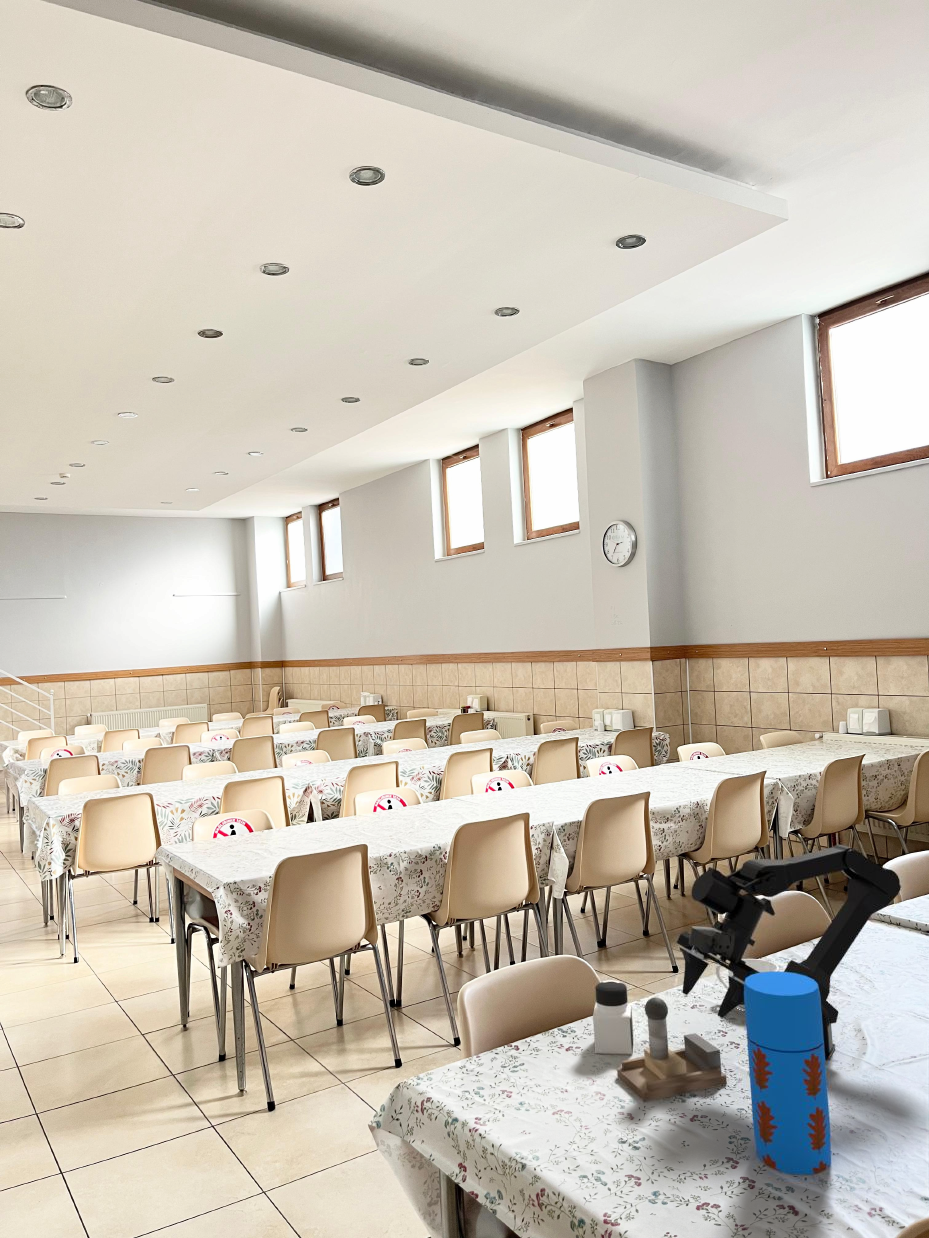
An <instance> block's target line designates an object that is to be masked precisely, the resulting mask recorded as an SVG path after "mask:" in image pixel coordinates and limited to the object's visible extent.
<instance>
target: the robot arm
mask: <svg viewBox="0 0 929 1238" xmlns="http://www.w3.org/2000/svg"><path fill="white" fill-rule="evenodd" d="M838 872H842V873H843V874H844V876H846V877H848V878H849V881H848V883H847V897H846V900H845V901H844V903H843V905H842V906H841V908H840V909H839V910H838V912H837V913H836V915H835V917H834V918H833V919H832V921H831V922H830V924H829V925H828V927H826V930H825V931H824V932H823V934H822V935H821V937H820V939H819V940H818V941H817V943H816V945H815V946H814V948H813V949H812V951H811V952H810V953H809V955H808V956H807V958H806V959H804V960H803V961H801V962H797V961H795V960H793V959H791V960H790V961H789V962H788V963H787V965H786V967H785V969H784V970H783V972H790V973H796V974H800V975H804V976H807V977H809V978H811V979H813V980H815V982H816V983H817V984H818V987H819V992H820V999H821V1013H822V1026H823V1039H824V1052H825V1060H829V1059H830V1058H831V1057H832V1055H833V1053H834V1050H835V1049H836V1044H835V1043H833V1042H834V1041H833V1031H832V1025H833V1024H836V1023H837V1022H838V1017H839V1010H838V1009H837V1008H836V1007H834V1006H833V1005H832V1004H831V1003H830V1002H829V1001H828V1000H827V999H828V998H829V995H830V993H831V992H830V990H831V989H830V988H831V977H832V975H833V973H834V972H835V971H836V969H837V967H838V966H839V964H840V963H841V962H842V960H843V959H844V957H845V955H846V954H847V953H848V951H849V949H850V948H851V946H852V945H853V944H854V943H855V940H856V939H857V938H858V936H859V935H860V933H861V931H862V930H863V928H864V927H865V925H866V924H867V922H868V921H869V919H870V918H871V916H872V915H874V914H875V913H878V912H879V911H881V910H884V909H885V908H887V907H888V906H889V905H890V904H891V903H892V902H893V901H894V900H895V898H896V897H898V895H899V894H900V892H901V888H902V886H901V883H900V882H901V880H900V878H899V876H898V875H899V874H897V872H895V871H894V870H893V869H889V868H886V867H882V866H881V865H879V864H878V863H876V862H874V861H873V860H872V859H869V858H868V857H866V856H865V855H864V854H862V853H861V852H859V851H858V849H856V848H853V847H850V846H848V845H847V846H846V845H844V844H843V845H842V844H836V845H833V846H831V847H829V848H825V849H822V850H816V851H813V852H810V853H804V854H801V855H796V856H793V857H789V858H784V859H774V858H773V859H772V858H763V859H756V858H755V859H749V860H747V861H744V863H743V864H742V867H741V868H739V869H737V870H735V871H734V872H732V873H730V874H728V875H727V876H726V875H724V874H723V873H722V872H721V871H719V870H717V869H716V868H713V867H711V866H709V867H708V868H707V871H706V872H704V873H701V874H700V876H699V877H698V878H697V879H695V880H694V882H693V884H692V887H691V898H692V900H693V901H695V902H697V903H698V904H700V905H701V906H704V907H705V908H708V909H709V910H710V911H712V912H714V913H716V914H718V915H724V917H723V920H722V921H720V920H717V921H716V922H714V924H713V926H712V927H708V926H695V925H694V926H693V925H692V926H691V930H690V932H688V931H684V932H681V933H680V935H679V936H678V938H677V940H676V942H675V943H676V944H678V945H679V946H681V947H679V949H678V950H679V951H680V952H681V953H682V955H683V959H684V974H683V982H682V983H683V984H682V994H683V995H686V996H688V995H689V994H690V993H691V991H692V990H693V988H694V987H695V986H696V985H697V982H698V981H699V979H700V978H701V977H702V975H703V974H704V972H705V970H706V969H707V968H708V966H709V965H710V964H709V962H707V961H706V960H711V961H713V962H714V963H716V964H717V965H718V964H719V965H721V966H722V967H723V968H725V969H727V971H728V970H730V971H732V972H733V975H734V976H735V977H737V978H736V979H734V978H732V977H730V976H729V975H728V976H727V979H728V985H729V988H728V990H727V989H726V992H725V995H724V997H723V999H722V1002H721V1004H720V1006H719V1008H718V1009H719V1010H718V1012H717V1016H718V1017H720V1018H722V1019H723V1018H725V1017H726V1015H728V1014H730V1013H731V1012H732V1011H733V1010H734V1009H736V1007H737V1006H738V1005H739V1004H741V1003H742V1002H744V984H745V979H746V978H747V977H749V976H750V975H753V974H756V973H760V972H758V971H757V970H755V969H753V968H751V967H749V966H748V965H746V964H745V963H746V962H745V961H743V960H742V959H744V958H743V957H744V955H745V953H746V951H747V948H748V947H749V945H750V946H751V947H754V945H755V943H756V940H754V939H752V938H753V936H754V933H755V931H756V929H757V927H758V925H759V923H760V921H761V918H762V916H763V914H764V913H765V914H767V915H770V916H773V917H774V916H775V915H776V912H775V910H774V907H773V906H772V901H771V899H767V898H773V897H775V896H777V895H780V894H782V893H784V892H786V891H788V890H789V889H790V888H791V887H792V886H793V885H794V884H797V883H798V882H799V883H800V882H801V881H805V880H806V881H807V880H809V879H814V878H818V877H821V876H825V875H829V874H834V873H838ZM741 891H742V892H744V893H743V894H742V893H741ZM756 895H761V896H763V897H762V898H758V897H757V896H756ZM718 956H719V957H718ZM704 959H705V961H704ZM727 961H728V962H727ZM725 963H726V964H725Z"/></svg>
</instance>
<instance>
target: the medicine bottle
mask: <svg viewBox="0 0 929 1238" xmlns="http://www.w3.org/2000/svg"><path fill="white" fill-rule="evenodd" d="M628 1001H629V1000H628V987H627V985H626V984H625V983H624V982H621V981H619V980H612V979H609V980H603V981H601V982H599V983H597V984H596V986H595V1003H594V1010H593V1014H592V1022H593V1023H592V1024H593V1039H594V1041H593V1042H594V1052H595V1054H603V1055H604V1054H605V1055H633V1053H634V1025H633V1008H632V1003H631V1002H630V1003H628Z"/></svg>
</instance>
